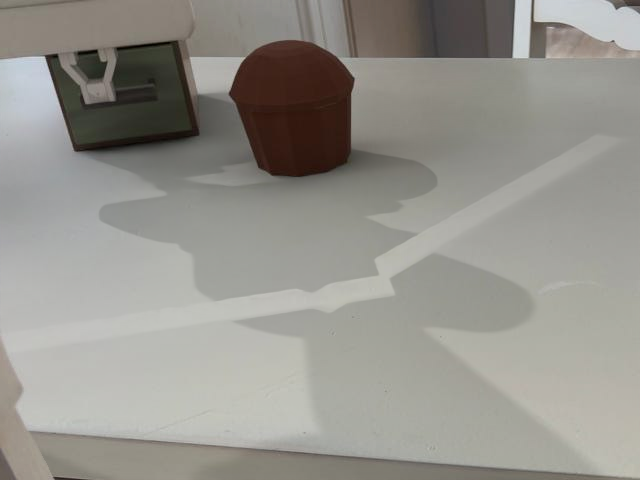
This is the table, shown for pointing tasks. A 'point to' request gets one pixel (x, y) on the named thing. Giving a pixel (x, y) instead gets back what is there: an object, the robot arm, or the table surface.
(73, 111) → the drawer
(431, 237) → the table surface
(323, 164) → the muffin
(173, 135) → the cabinet
